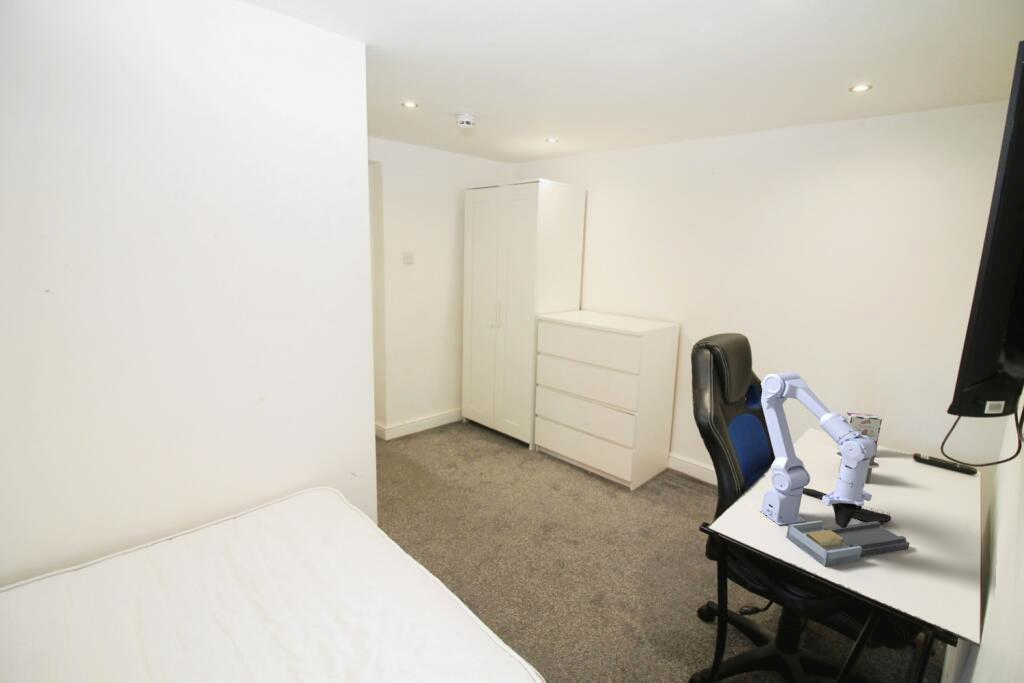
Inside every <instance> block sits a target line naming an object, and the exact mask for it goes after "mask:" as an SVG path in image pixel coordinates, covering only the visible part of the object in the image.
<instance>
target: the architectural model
mask: <svg viewBox="0 0 1024 683" xmlns="http://www.w3.org/2000/svg"><path fill="white" fill-rule="evenodd" d="M876 446H877V447H878V443H877V444H876ZM835 456H836V457H837V458H839V459H841V460H840V463H839V468H838V471H839V470H840V466H841V461H842V454H841V452H840V451H838V452H836V453H835ZM875 457H876V454H875V455H874V456H872V457H870V458H867V459H870V462H869V466H868V471H867V476H866V480H865V484H867V483H869V482H870V480H871V476H872V471H873V469H874V468H876V469H877V468H880V465H879V463H877V462H875Z"/></svg>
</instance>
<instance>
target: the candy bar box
mask: <svg viewBox="0 0 1024 683" xmlns="http://www.w3.org/2000/svg"><path fill="white" fill-rule="evenodd" d="M844 416H845V417H846V418H847V420H846V421H847V422H848V423H849V424H850V425H851V426H852V427H853V428H854V429H855V430H856V431H859V432H860V433H861V435H865V436H868V437H870V438H872V440H873V441H874V442H875V444H877V445H878V442H879V437H880V431H881V425H882V420H883V418H881V417H879V416H878V415H876V414H870V413H869V414H868V413H859V412H858V413H855V412H845V414H844ZM838 450H839V451H840V449H839V448H838Z"/></svg>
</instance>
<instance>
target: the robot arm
mask: <svg viewBox="0 0 1024 683" xmlns="http://www.w3.org/2000/svg"><path fill="white" fill-rule="evenodd" d="M760 385H761V391H762V392H761V396H760V398H761V399H760V402H761V408H762V411H763V415H764V418H765V423H766V426H767V432H768V434H769V439H770V442H771V447H772V449H773V450H772V451H773V454H774V460H773V462H772V464H771V465H770V469H771V475H770V481H771V484H772V485H773V487H772V488H771V489H768V490H766V491H765V493H764V494H763V500H762V504H761V505H762V507H761V508H759V509H758V510H759V511H760V512H761V511H762V512H763V513H764V514H763V513H762V512H761V513H762V514H763V515H765V516H766V515H767V516H766V517H768V518H769V519H770V520H771V521H773V522H774V521H775V523H776V524H777V525H778V526H783V525H791V524H798V523H806V522H805V521H806V520H805V519H804V518H803V517H801V516H800V515H799V514H800V513H799V512H800V508H801V502H802V499H803V494H804V493H803V489H804V488H805V487H807V486H809V485H810V481H811V475H810V473H809V471H808V470H807V469H806V467H805V464H804V462H803V461H802V460H801V459H800V458H799V457H798V456H797V455H796V452H795V451H796V450H795V446H794V444H793V440H792V436H791V431H790V429H789V425H788V421H787V416H786V413H785V409H784V404H785V402H786V401H787V400H788V399H794V400H798V402H800V403H801V405H803V406H804V407H806V409H808V411H810V412H811V414H813V415H814V416H815V417H816V418H818V419H819V421H820V423H819V424H820V425H819V426H820V427H821V429H822V430H824V432H826V434H827V435H828V436H829V437H830V438H831V439H832V440H833V441H834V442H835V443H836V444H837V445H838V450H839V449H840V450H839V452H841V454H842V461H841V460H840V463H841V466H840V465H839V468H840V470H839V469H838V476H837V480H836V485H835V489H834V490H832V491H831V492H829V493H828V494H827V495H825V496H823V498H822V497H821V498H822V500H821V503H822V504H824V505H826V506H827V507H831V506H832V508H833V512H834V518H835V519H834V520H835V524H836V525H837V527H838V526H840V527H841V528H846V527H847V525H850V522H851V521H852V519H854V518H853V516H854V515H855V514H856V513H857V512H859V511H860V510H861V509H863V506H865V502H864V501H867V502H870V501H871V500H872V496H873V494H872V493H870V492H868V491H866V490H864V488H865V484H866V483H865V480H866V476H867V471H868V466H869V462H870V459H867V458H870V457H872V456H874V455H875V456H876V454H877V451H878V445H877V446H876V444H875V442H874V441H873V440H872V438H870V437H868V436H865V435H861V433H860V432H859V431H856V430H855V429H854V428H853V427H852V426H851V425H850V424H849V423H848V422H847V421H846V420H847V418H846V417H845V415H841V414H840V413H837V412H831V410H830V409H829V408H828V407H827V406H826V405H825V403H823V402H822V400H821V399H820V398H819V397H818V395H817V396H816V394H815V393H814V392H813V390H811V388H810V387H809V386H808V384H807V381H806V380H805V379H804V378H802V377H801V376H800V375H799V374H798V373H797V372H794V371H786V372H780V373H769V374H767V375H766V376H765V377H764V378H763V380H762V381H761V383H760ZM862 505H863V506H862Z"/></svg>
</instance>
